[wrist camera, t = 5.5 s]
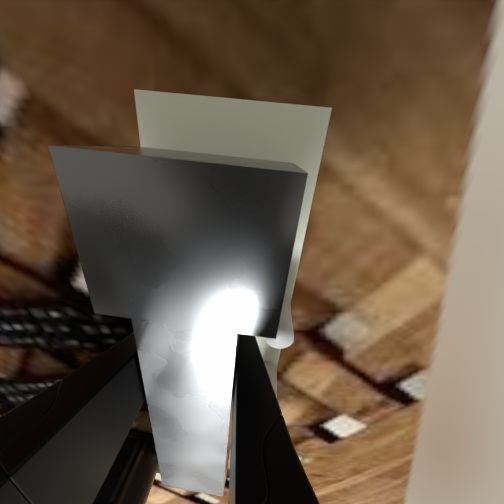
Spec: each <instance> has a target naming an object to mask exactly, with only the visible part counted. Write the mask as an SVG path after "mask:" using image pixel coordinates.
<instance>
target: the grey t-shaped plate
mask: <svg viewBox="0 0 504 504" xmlns="http://www.w3.org/2000/svg"><path fill="white" fill-rule="evenodd" d="M48 148H49V151H50V155H51V159H52V162H53V166H54V169H55V173H56V176H57V180H58V184H59V187H60V191H61V194H62V198H63V202H64V205H65V209H66V212H67V216H68V220H69V223H70V227H71V230H72V234H73V238H74V241H75V245H76V248H77V252H78V255H79V259H80V263H81V266H82V270H83V273H84V277H85V281H86V284H87V288H88V291H89V295H90V299H91V302H92V306H93V309H94V313H96V314H103V315H110V316H117V317H124V318H131V320H132V325H133V330H134V336H135V341H136V346H137V351H138V357H139V362H140V367H141V373H142V378H143V383H144V389H145V394H146V399H147V405H148V410H149V415H150V421H151V426H152V431H153V437H154V442H155V447H156V453H157V458H158V463H159V469H160V474H161V479H162V484H163V486H167V487H172V488H178V489H184V490H190V491H195V492H201V493H207V494H212V495H218V496H223V493H224V486H225V479H226V473H227V466H228V459H229V452H230V446H231V434H232V411H233V391H234V380H235V369H236V358H237V352H238V347H239V342H240V337H241V334H244V335H251V336H258V337H265V338H272V339H276V336H277V331H278V326H279V321H280V316H281V311H282V305H283V300H284V295H285V290H286V285H287V280H288V274H289V269H290V264H291V259H292V254H293V248H294V243H295V238H296V233H297V228H298V223H299V217H300V212H301V207H302V202H303V197H304V192H305V186H306V181H307V176H308V173H307V172H305V171H304V170H303V169H301V168H300V167H299V166H297V165H296V164H295V163H290V162H281V161H271V160H262V159H252V158H243V157H234V156H224V155H215V154H205V153H196V152H187V151H177V150H168V149H158V148H149V147H125V146H63V145H48Z"/></svg>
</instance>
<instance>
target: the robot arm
mask: <svg viewBox="0 0 504 504" xmlns="http://www.w3.org/2000/svg"><path fill="white" fill-rule="evenodd" d="M145 399H146V394H145V389H144V383H143V378H142V373H141V367H140V362H139V357H138V351H137V346H136V341H135V336H134V333H132V334H131V335H129V336H128V337H126V338H124V339H123V340H121V341H120V342H118V343H117V344H115V345H114V346H112V347H110V348H109V349H107V350H106V351H104V352H103V353H101V354H100V355H98V356H97V357H95V358H93V359H92V360H90V361H89V362H87V363H86V364H84V365H83V366H81V367H80V368H78V369H76V370H75V371H73V372H72V373H70V374H69V375H67V376H66V377H64V378H63V379H62V380H61V381H58V382H56V383H55V384H53V385H52V386H50V387H48V388H47V389H45V390H44V391H42V392H41V393H39V394H37V395H36V396H34V397H33V398H31V399H29V400H28V401H26V402H25V403H23V404H21V405H20V406H18V407H16V408H14V409H13V410H11V411H9V412H8V413H6V414H4V415H3V416H1V417H0V504H145V503H146V500H147V498H148V495H149V492H150V489H151V487H152V484H153V481H154V478H155V476H156V473H160V469H159V463H158V458H157V453H156V447H155V442H154V437H153V435H148V434H142V433H136V432H130V431H129V430H130V428H131V426H132V424H133V422H134V420H135V419H136V417H137V415H138V413H139V411H140V409H141V407H142V405H143V403H144V401H145ZM228 504H319V501H318V499H317V497H316V495H315V493H314V491H313V488H312V486H311V484H310V482H309V480H308V478H307V475H306V473H305V471H304V469H303V466H302V464H301V462H300V459H299V457H298V455H297V453H296V450H295V448H294V445H293V442H292V440H291V437H290V434H289V432H288V429H287V426H286V423H285V421H284V418H283V416H282V412H281V409H280V406H279V404H278V401H277V398H276V395H275V392H274V389H273V386H272V383H271V380H270V377H269V375H268V372H267V369H266V366H265V363H264V360H263V357H262V354H261V351H260V348H259V346H258V343H257V340H256V337H255V336H251V335H244V334H241V337H240V342H239V347H238V352H237V358H236V369H235V380H234V391H233V411H232V434H231V457H230V480H229V503H228Z"/></svg>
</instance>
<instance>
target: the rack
mask: <svg viewBox="0 0 504 504" xmlns="http://www.w3.org/2000/svg"><path fill="white" fill-rule="evenodd" d="M134 94H135V103H136V111H137V120H138V129H139V137H140V146H141V147H149V148H158V149H168V150H177V151H187V152H196V153H205V154H215V155H224V156H234V157H243V158H252V159H262V160H271V161H281V162H290V163H295V164H296V165H297V166H299V167H300V168H301V169H303V170H304V171H305V172H307V173H308V176H307V181H306V186H305V192H304V197H303V202H302V207H301V212H300V217H299V223H298V228H297V233H296V238H295V243H294V248H293V254H292V259H291V264H290V269H289V274H288V280H287V285H286V290H285V295H284V300H283V305H282V311H281V316H280V321H279V326H278V331H277V336H276V339H272V338H265V337H258V336H255V337H256V340H257V343H258V346H259V348H260V351H261V354H262V357H263V360H264V363H265V366H266V369H267V372H268V375H269V377H270V380H271V383H272V386H273V389H274V392H275V395H276V398H277V365H278V360H279V355H280V351H281V349H282V348H286V347H289V346H290V345H291V344H292V343H293V341H294V333H293V324H292V314H291V304H290V303H291V299H292V294H293V289H294V285H295V280H296V275H297V270H298V266H299V261H300V256H301V252H302V247H303V242H304V237H305V233H306V228H307V223H308V218H309V214H310V209H311V204H312V200H313V195H314V190H315V185H316V181H317V176H318V171H319V166H320V162H321V157H322V152H323V148H324V143H325V138H326V133H327V129H328V124H329V119H330V115H331V110H332V108H329V107H318V106H308V105H297V104H286V103H276V102H265V101H254V100H244V99H233V98H222V97H212V96H201V95H190V94H179V93H169V92H158V91H147V90H137V89H134Z"/></svg>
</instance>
